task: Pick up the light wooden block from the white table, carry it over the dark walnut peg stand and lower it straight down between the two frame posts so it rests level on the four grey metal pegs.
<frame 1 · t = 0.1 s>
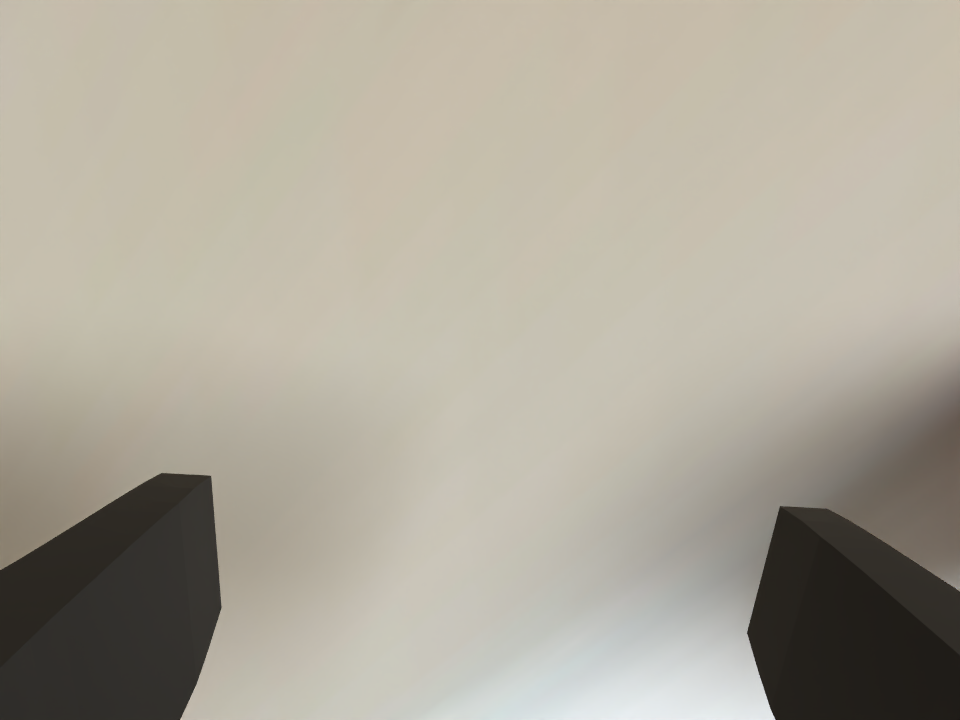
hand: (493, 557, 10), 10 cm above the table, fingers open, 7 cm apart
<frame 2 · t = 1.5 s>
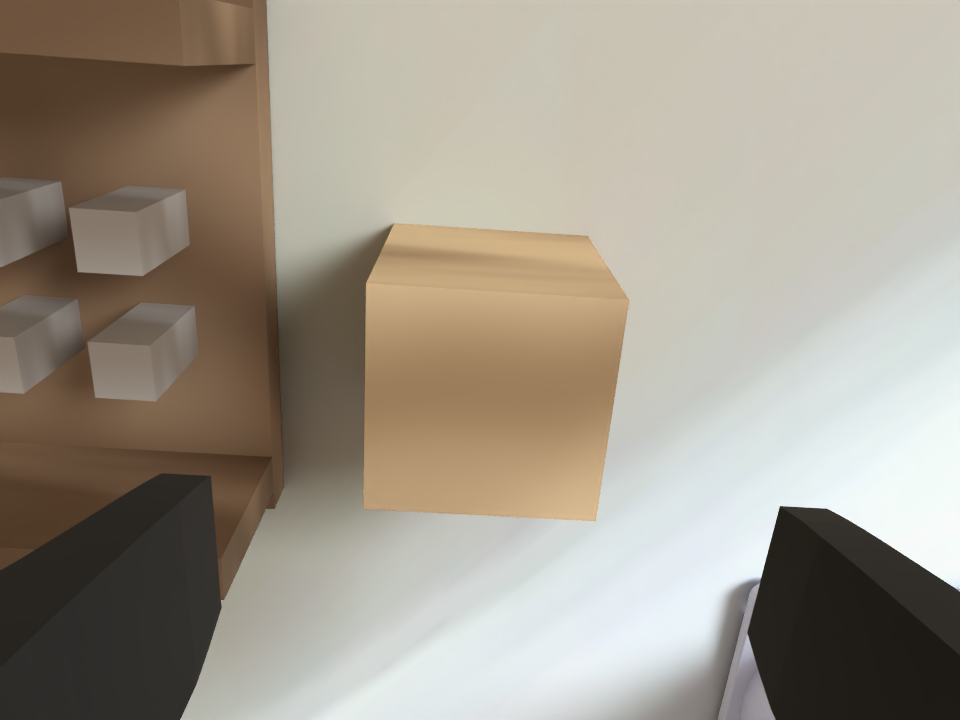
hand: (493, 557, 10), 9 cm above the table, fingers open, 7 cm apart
stand: (125, 258, 17), on the table
light wooden block: (484, 320, 18), on the table
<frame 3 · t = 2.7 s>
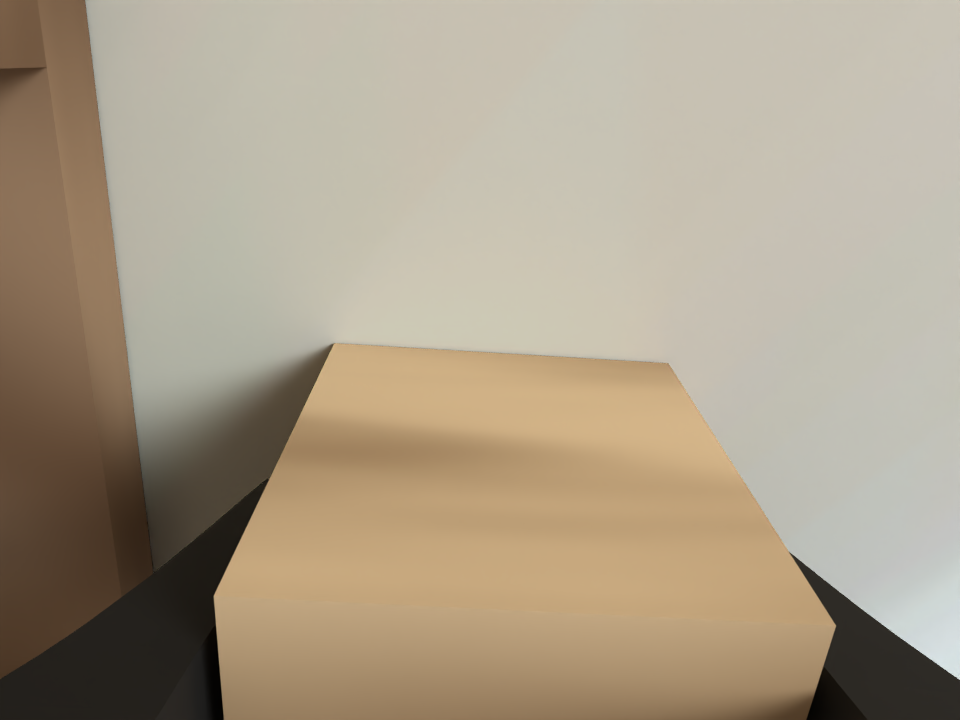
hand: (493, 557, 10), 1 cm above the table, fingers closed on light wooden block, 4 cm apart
light wooden block: (490, 496, 11), on the table, touching gripper
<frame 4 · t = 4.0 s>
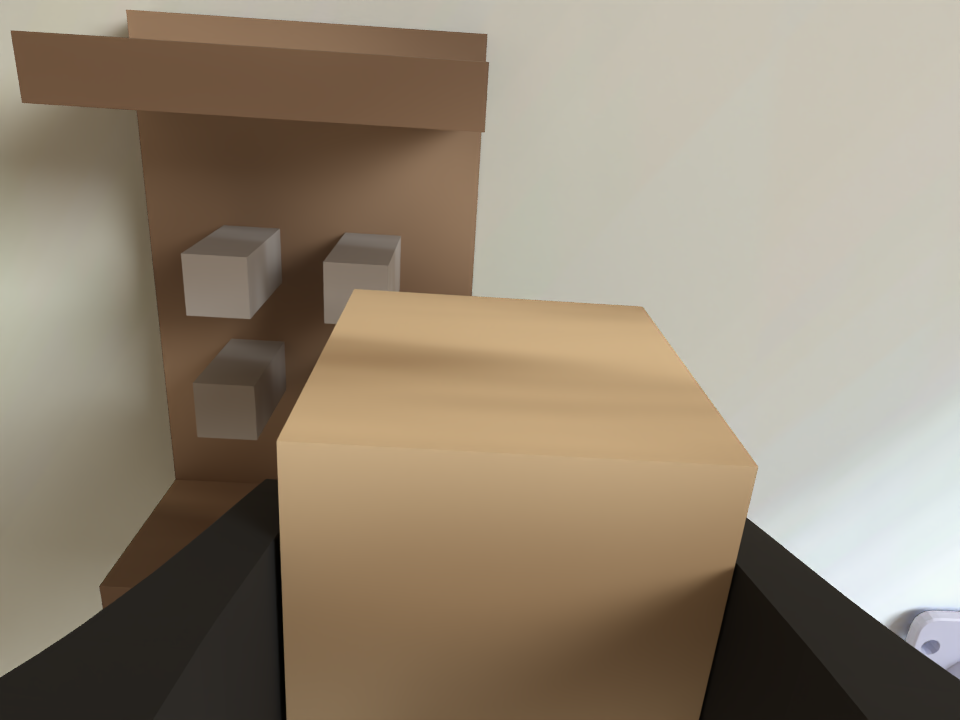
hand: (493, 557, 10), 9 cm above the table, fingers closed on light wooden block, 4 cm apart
stand: (323, 300, 18), on the table
light wooden block: (488, 427, 12), point 6 cm above the table, touching gripper
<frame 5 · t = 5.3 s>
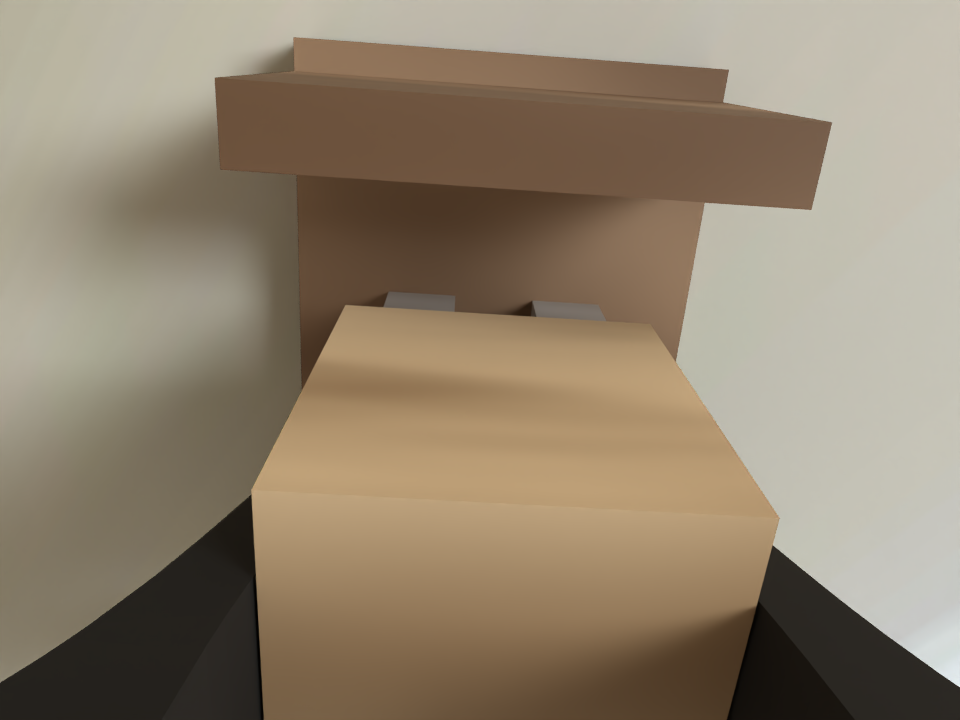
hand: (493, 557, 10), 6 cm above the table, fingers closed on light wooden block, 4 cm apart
stand: (485, 372, 15), on the table
light wooden block: (487, 448, 12), point 3 cm above the table, touching gripper, stand
when the fingers open (6 cm above the table, at t = 5.6 s): light wooden block stays where it is, resting on stand.
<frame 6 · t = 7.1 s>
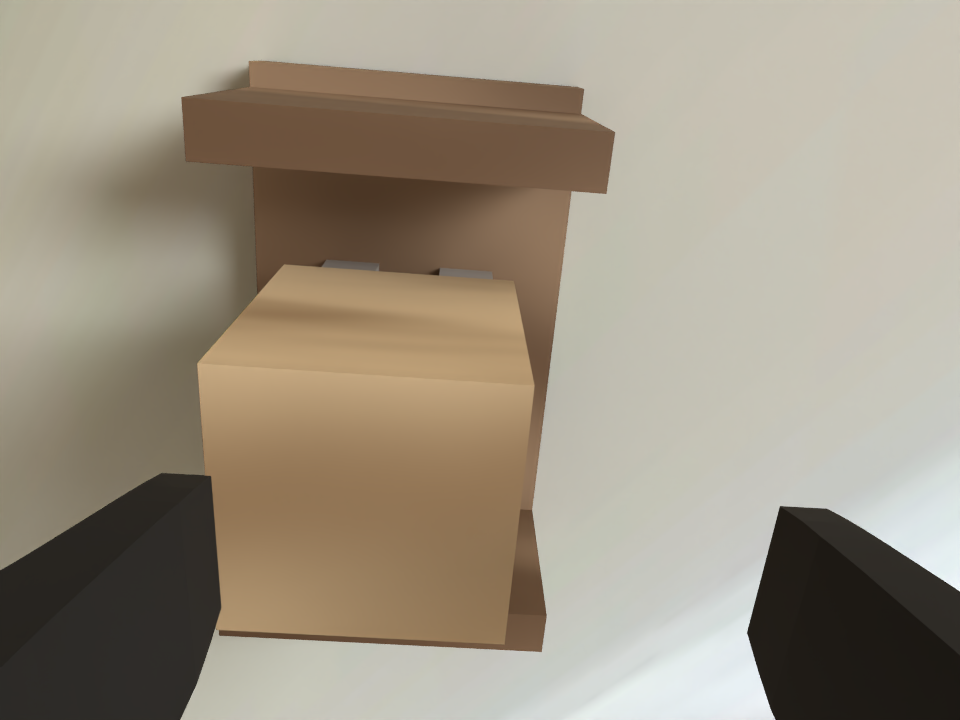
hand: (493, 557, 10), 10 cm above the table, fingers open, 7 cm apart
stand: (409, 328, 19), on the table
light wooden block: (395, 377, 15), point 3 cm above the table, touching stand
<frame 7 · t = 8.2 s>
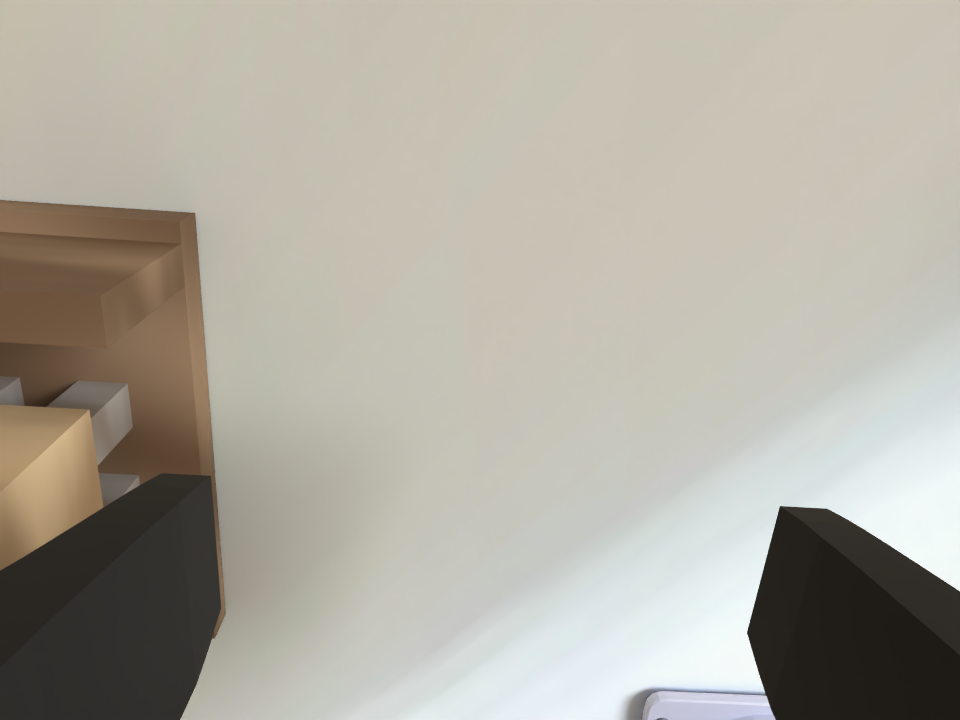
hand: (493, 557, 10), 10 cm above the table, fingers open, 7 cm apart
stand: (79, 429, 20), on the table
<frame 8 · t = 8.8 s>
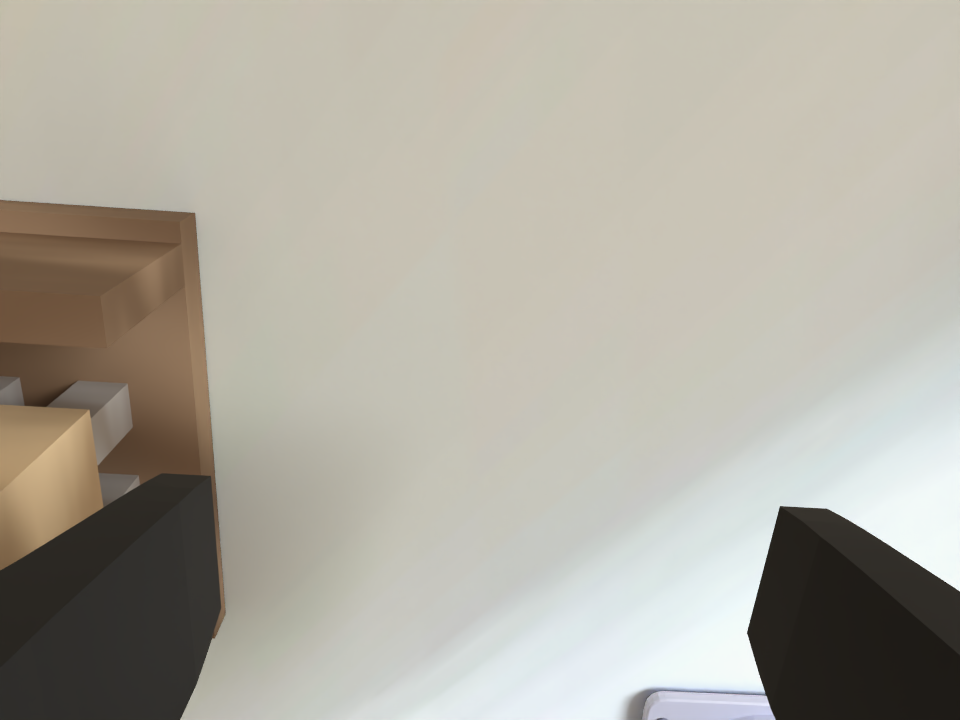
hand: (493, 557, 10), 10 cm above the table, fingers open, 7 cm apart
stand: (79, 429, 20), on the table
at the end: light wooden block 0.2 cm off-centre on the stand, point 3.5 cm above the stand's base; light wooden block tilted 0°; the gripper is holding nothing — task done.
